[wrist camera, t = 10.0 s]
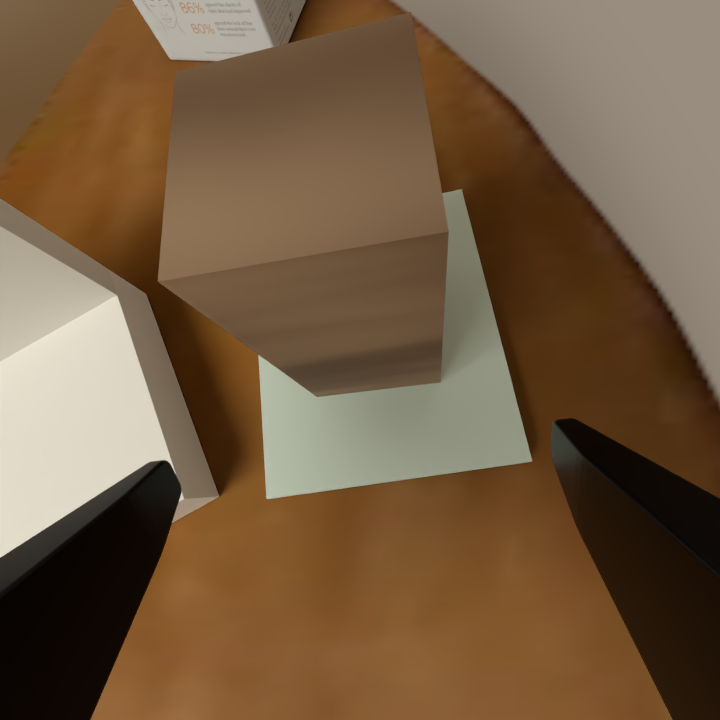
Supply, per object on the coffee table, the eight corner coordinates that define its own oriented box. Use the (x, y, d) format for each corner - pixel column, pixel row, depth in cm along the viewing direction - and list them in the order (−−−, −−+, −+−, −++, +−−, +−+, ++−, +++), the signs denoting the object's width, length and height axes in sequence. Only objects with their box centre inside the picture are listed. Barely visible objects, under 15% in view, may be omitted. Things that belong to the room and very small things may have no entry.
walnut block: (440, 382, 16) (448, 231, 6) (316, 396, 16) (157, 281, 7) (424, 269, 17) (410, 12, 8) (311, 287, 18) (175, 71, 9)
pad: (527, 462, 15) (532, 461, 14) (274, 498, 16) (266, 499, 16) (460, 200, 19) (461, 188, 18) (258, 246, 20) (252, 237, 19)
